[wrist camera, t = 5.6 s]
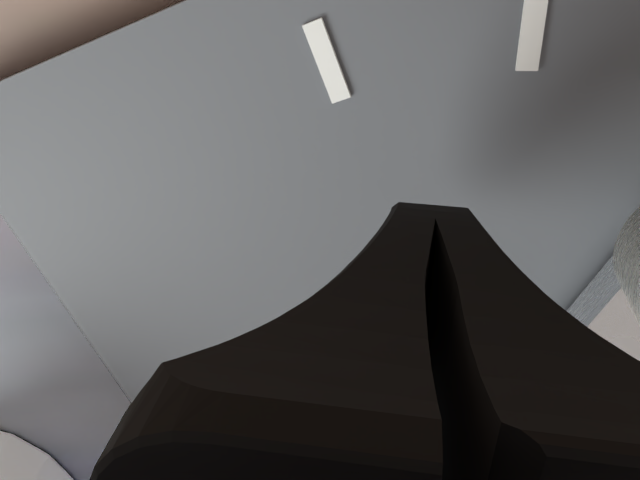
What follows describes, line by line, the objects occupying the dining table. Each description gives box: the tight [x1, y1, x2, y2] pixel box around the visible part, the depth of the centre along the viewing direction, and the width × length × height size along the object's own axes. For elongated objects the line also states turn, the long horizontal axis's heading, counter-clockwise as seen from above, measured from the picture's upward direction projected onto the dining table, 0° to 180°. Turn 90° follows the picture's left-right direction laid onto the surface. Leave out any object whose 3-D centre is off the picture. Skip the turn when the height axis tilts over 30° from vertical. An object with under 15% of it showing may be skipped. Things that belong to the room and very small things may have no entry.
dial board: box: [0, 0, 640, 403], centre depth 16 cm, size 22×20×2 cm
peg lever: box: [567, 206, 640, 361], centre depth 12 cm, size 14×4×4 cm, turn 158°
